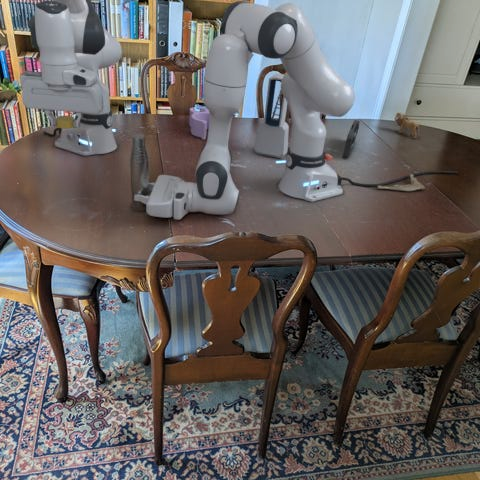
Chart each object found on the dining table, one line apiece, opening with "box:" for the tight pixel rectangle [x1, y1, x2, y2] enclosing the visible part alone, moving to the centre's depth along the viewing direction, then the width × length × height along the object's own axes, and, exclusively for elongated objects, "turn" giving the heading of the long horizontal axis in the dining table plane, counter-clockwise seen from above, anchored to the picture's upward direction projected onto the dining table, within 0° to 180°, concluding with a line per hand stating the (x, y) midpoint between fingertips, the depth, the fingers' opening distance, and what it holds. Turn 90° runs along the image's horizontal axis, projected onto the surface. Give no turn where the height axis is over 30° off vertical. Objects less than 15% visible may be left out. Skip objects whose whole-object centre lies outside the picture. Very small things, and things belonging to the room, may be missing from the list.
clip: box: [188, 106, 210, 140], centre depth 199 cm, size 20×12×7 cm, turn 23°
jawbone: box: [376, 173, 426, 193], centre depth 169 cm, size 9×20×2 cm, turn 126°
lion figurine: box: [394, 112, 422, 139], centre depth 219 cm, size 15×5×9 cm, turn 50°
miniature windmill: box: [271, 64, 290, 126], centre depth 207 cm, size 9×8×30 cm
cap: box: [55, 115, 75, 129], centre depth 125 cm, size 5×5×2 cm
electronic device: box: [252, 73, 290, 160], centre depth 177 cm, size 12×8×30 cm, turn 71°
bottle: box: [129, 133, 150, 212], centre depth 135 cm, size 5×5×22 cm
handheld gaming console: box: [342, 119, 361, 159], centre depth 194 cm, size 23×3×10 cm, turn 161°
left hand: (66, 126), depth 126 cm, fingers closed on cap, 4 cm apart
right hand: (137, 191), depth 138 cm, fingers closed on bottle, 5 cm apart
